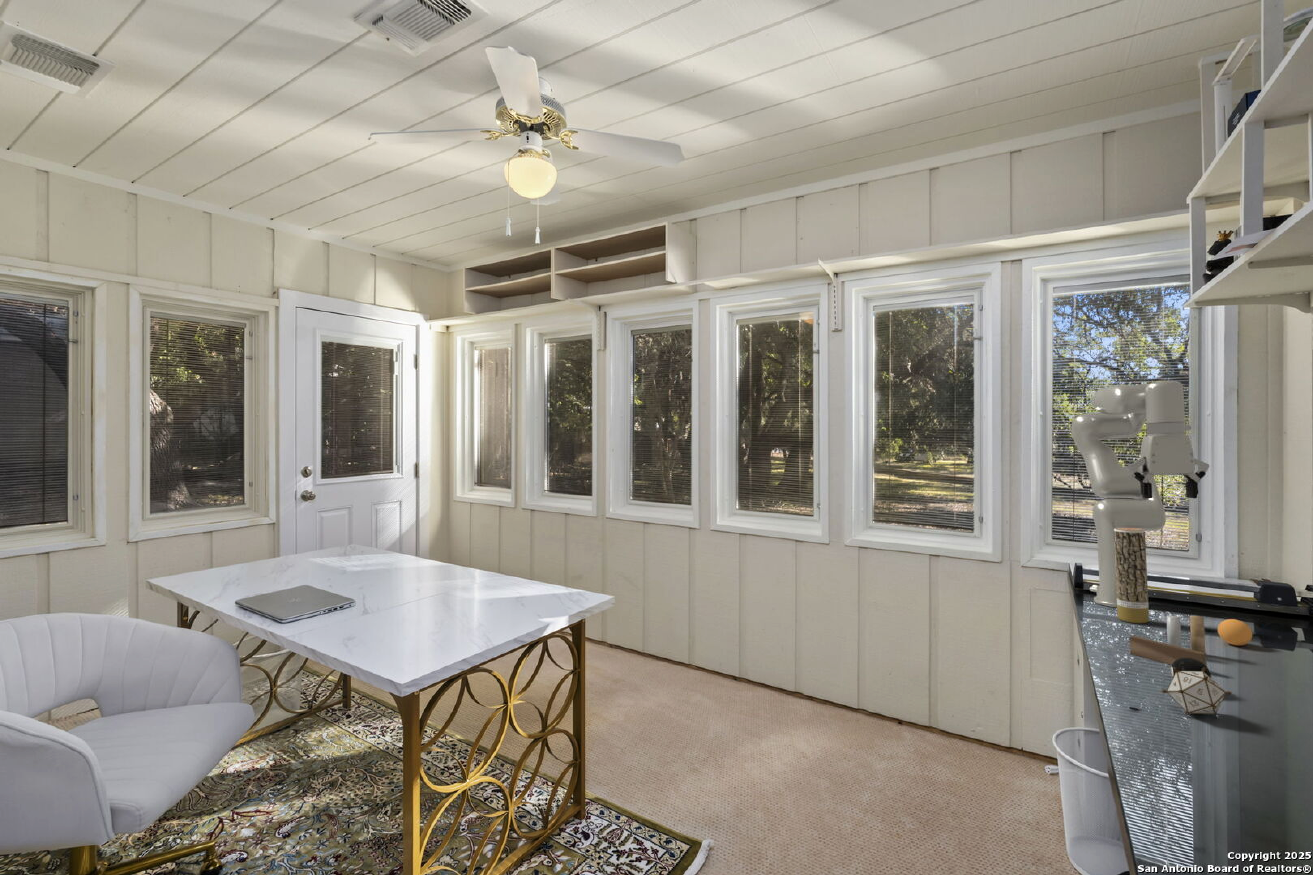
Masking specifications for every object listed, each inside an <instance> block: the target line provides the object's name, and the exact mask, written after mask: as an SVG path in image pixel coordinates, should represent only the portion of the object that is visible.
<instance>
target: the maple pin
mask: <svg viewBox="0 0 1313 875" xmlns="http://www.w3.org/2000/svg"><path fill="white" fill-rule="evenodd" d="M1189 625H1190V626H1189V627H1190V646H1191V648H1190V649H1191V650H1195V651H1199V652H1203V653H1206V638H1205V637H1206V635H1205V633H1206V632H1205V617H1203V616H1199V615H1189Z"/></svg>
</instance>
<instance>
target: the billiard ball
mask: <svg viewBox="0 0 1313 875" xmlns="http://www.w3.org/2000/svg"><path fill="white" fill-rule="evenodd" d="M1170 666H1171V667H1170V674H1171V676H1172V678H1173V677H1174V675H1175V672H1176V671H1174V669H1173V667H1175V668H1176V669H1177V670H1178V671H1202V668H1204V667H1205V669H1206V670H1205V673H1206V674H1207V675H1208V676H1209V677H1210V678H1211V679H1212V673H1211V671H1210V669H1209V667H1208V665H1207V666H1206V665H1205V664H1204V663H1202V662H1200V661H1199V660H1196V659H1193V658H1180V659H1177V660H1175V661H1174V662H1173V664H1172V665H1170Z"/></svg>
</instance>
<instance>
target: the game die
mask: <svg viewBox="0 0 1313 875" xmlns="http://www.w3.org/2000/svg"><path fill="white" fill-rule="evenodd" d="M1173 669H1174V671H1176V672H1175V675H1174V677H1172V678H1171V681H1170V683H1169V685H1168V687H1167V689H1162V690H1160V692H1161V693H1163V694H1166V693H1167V694H1168V695H1169V696H1170V697H1171V698H1172V699H1173V700H1174V701H1175V702H1176V703H1177V704H1178V705H1179V706H1180V707H1181V708H1182V709H1183V710H1184V711H1185V712H1186V713H1185V714H1187V715H1189V716H1190V714H1204V715H1207V714H1208V715H1214V714H1215V715H1219V714H1218V713H1217V712H1218V710H1219V708H1220V706H1221V704H1222V703H1223V701H1224V698H1225V696H1226V695H1232V694H1233V692H1232V691H1230V690H1229V691H1228V690H1227V691H1225V689H1224V688H1222V687H1221V686H1220V685H1219V684H1218V683H1216V681H1215V680H1213V679H1212V677H1211V678H1210V677H1209V676H1208V675H1207V674H1206V673H1205V670H1206V669H1205V667H1204V668H1202V671H1178V670H1177V669H1176V668H1175V667H1173ZM1215 715H1214V716H1215Z"/></svg>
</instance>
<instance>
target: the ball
mask: <svg viewBox="0 0 1313 875" xmlns="http://www.w3.org/2000/svg"><path fill="white" fill-rule="evenodd" d="M1217 634H1218V635H1219V637H1220V639H1221V640H1222V641H1224V642H1226V643H1227V644H1230V645H1232V646H1244V645H1246V644H1247V645H1248V643H1250V642H1251V641H1252V638H1253V631H1252V630H1251V627H1249V625H1248V624H1246V622H1244V621H1242V620H1238V619H1235V618H1228V619H1225V620H1222V621H1221V622H1220V623H1219V624H1218V627H1217Z"/></svg>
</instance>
